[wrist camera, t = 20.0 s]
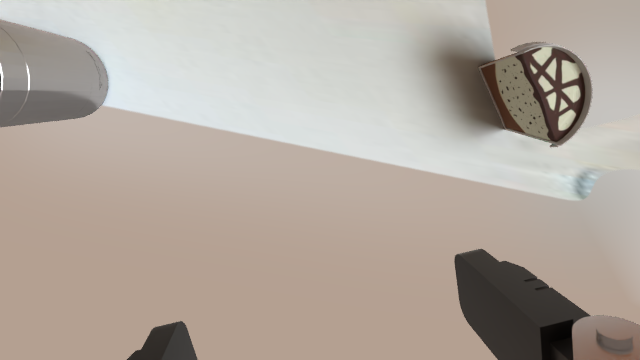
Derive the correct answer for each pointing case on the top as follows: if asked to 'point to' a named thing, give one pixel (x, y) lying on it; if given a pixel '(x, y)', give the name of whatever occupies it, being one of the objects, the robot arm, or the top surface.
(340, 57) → the top surface
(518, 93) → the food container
